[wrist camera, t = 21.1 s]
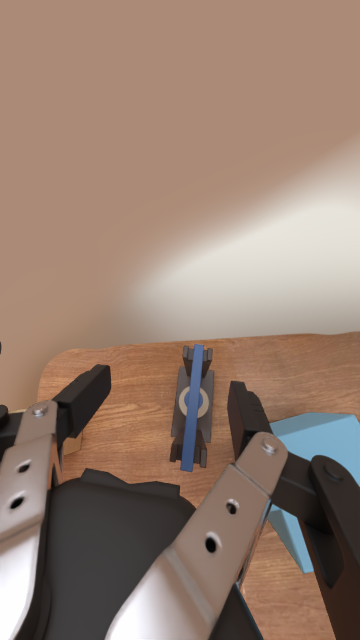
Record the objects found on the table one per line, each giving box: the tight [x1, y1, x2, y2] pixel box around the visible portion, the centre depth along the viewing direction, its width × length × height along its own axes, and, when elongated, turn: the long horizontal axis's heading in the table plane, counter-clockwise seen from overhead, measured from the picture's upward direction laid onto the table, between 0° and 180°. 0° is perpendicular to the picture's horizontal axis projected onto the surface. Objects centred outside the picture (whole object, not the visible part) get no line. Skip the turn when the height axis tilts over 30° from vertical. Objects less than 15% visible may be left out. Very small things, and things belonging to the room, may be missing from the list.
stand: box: [170, 346, 214, 468], centre depth 28 cm, size 7×12×17 cm, turn 173°
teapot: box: [267, 412, 360, 574], centre depth 25 cm, size 22×11×14 cm, turn 104°
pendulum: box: [179, 344, 209, 472], centre depth 26 cm, size 5×13×12 cm, turn 172°
